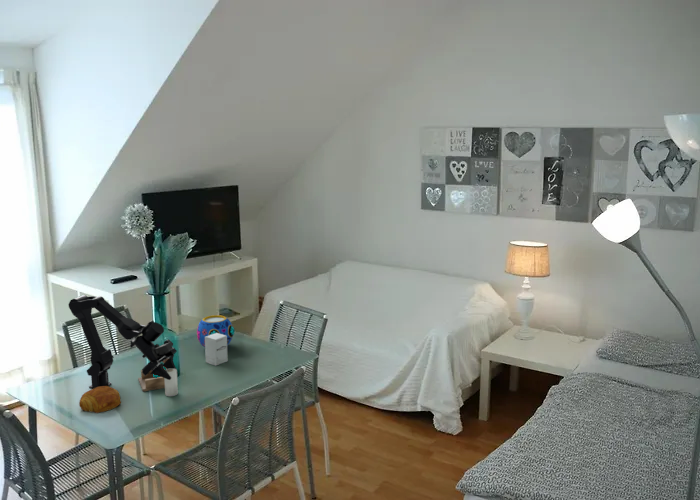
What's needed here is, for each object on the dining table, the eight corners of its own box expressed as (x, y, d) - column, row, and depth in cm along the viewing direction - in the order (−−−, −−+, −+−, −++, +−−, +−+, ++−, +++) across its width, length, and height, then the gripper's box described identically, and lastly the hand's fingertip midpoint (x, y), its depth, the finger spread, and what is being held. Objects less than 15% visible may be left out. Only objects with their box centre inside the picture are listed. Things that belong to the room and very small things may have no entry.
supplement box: (216, 366, 288) (214, 339, 285) (205, 362, 292) (204, 336, 290) (228, 361, 293) (227, 335, 291) (217, 357, 298) (216, 332, 295)
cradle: (142, 391, 260) (142, 381, 260) (138, 380, 272) (137, 370, 271) (172, 386, 266) (172, 376, 265) (166, 375, 277) (166, 365, 276)
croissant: (76, 410, 248) (71, 392, 246) (114, 393, 259) (109, 376, 256) (91, 422, 238) (86, 403, 236) (130, 404, 248) (125, 386, 246)
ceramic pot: (209, 357, 299) (208, 326, 296) (190, 347, 311) (189, 318, 308) (241, 348, 310) (240, 319, 307) (221, 339, 323) (220, 310, 320)
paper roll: (173, 397, 255) (172, 373, 253) (162, 395, 257) (161, 371, 255) (180, 392, 260) (179, 368, 258) (170, 390, 261) (168, 367, 259)
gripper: (147, 343, 245) (174, 373, 245) (171, 328, 263) (196, 356, 263) (130, 361, 249) (157, 390, 248) (155, 345, 266) (180, 372, 266)
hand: (173, 376), depth 256 cm, fingers closed on paper roll, 5 cm apart
